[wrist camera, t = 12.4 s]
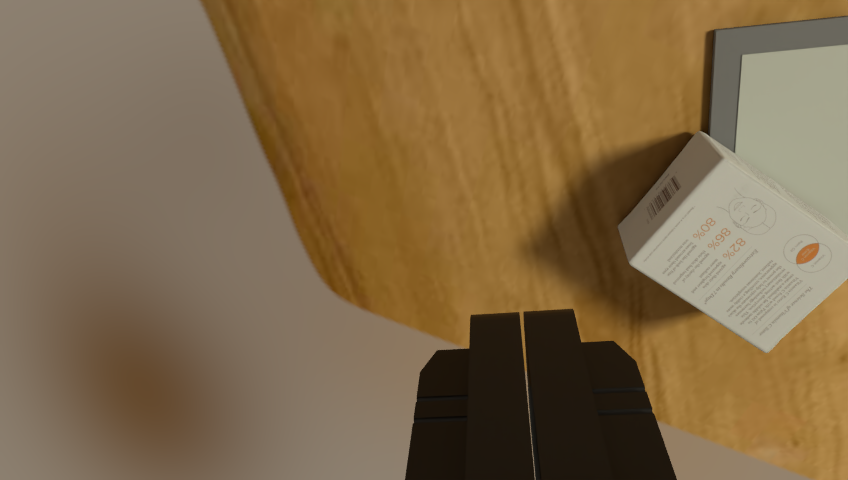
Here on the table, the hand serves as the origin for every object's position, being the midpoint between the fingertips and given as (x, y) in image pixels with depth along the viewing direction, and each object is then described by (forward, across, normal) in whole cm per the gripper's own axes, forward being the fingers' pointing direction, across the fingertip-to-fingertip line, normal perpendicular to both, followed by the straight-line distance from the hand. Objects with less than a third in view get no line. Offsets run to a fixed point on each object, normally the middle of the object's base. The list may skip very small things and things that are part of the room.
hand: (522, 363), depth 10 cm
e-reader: (+33, -18, +9) cm, 39 cm away
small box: (+30, -9, +10) cm, 33 cm away
